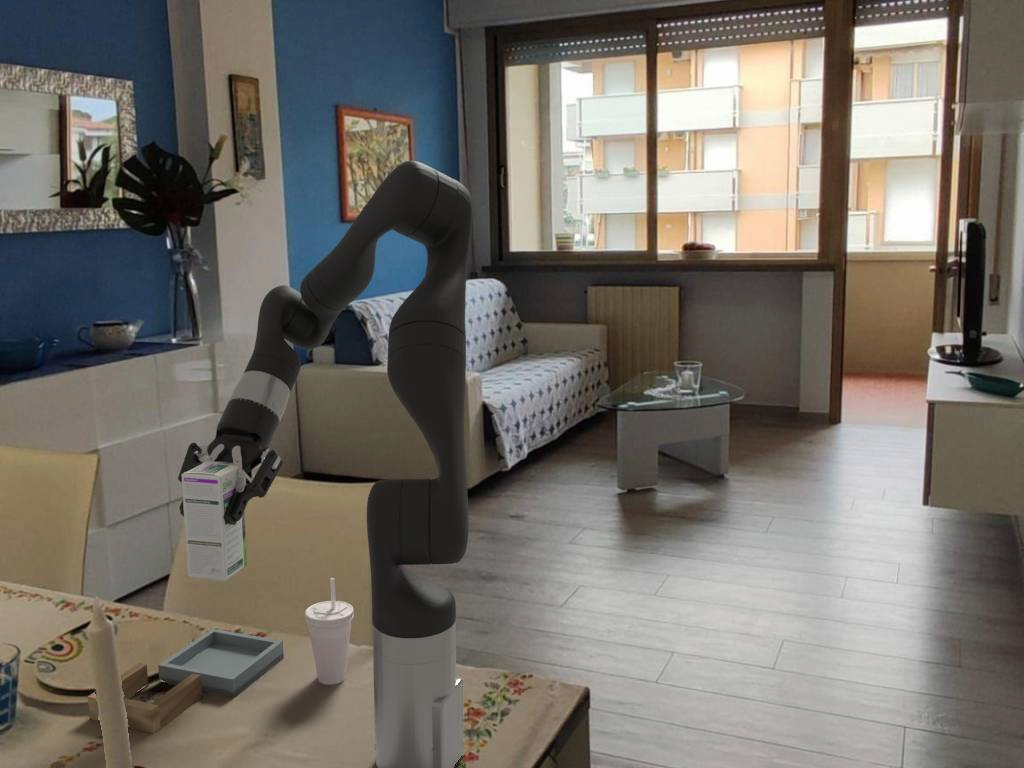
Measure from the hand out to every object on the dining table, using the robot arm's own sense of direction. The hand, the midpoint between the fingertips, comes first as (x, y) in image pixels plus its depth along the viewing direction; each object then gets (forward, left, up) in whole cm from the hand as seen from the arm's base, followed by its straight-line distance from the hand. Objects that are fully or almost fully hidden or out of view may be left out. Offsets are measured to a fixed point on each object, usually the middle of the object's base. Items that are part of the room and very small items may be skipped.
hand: (207, 518), depth 126 cm
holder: (+3, +9, -22) cm, 24 cm away
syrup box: (0, -2, -8) cm, 8 cm away
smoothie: (-15, -5, -22) cm, 27 cm away
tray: (0, -2, -22) cm, 22 cm away
